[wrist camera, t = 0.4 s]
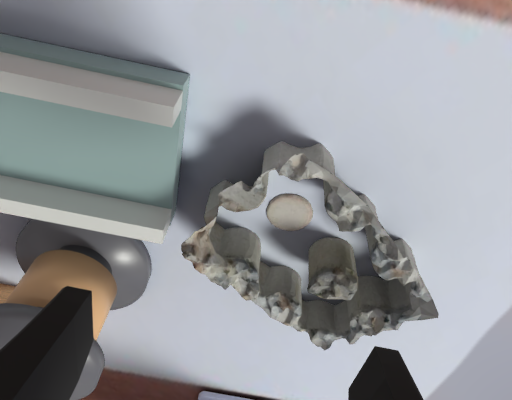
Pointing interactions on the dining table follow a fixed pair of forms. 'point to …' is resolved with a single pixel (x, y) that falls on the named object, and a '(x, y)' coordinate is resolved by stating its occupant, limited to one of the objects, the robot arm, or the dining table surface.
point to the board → (89, 139)
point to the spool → (75, 281)
